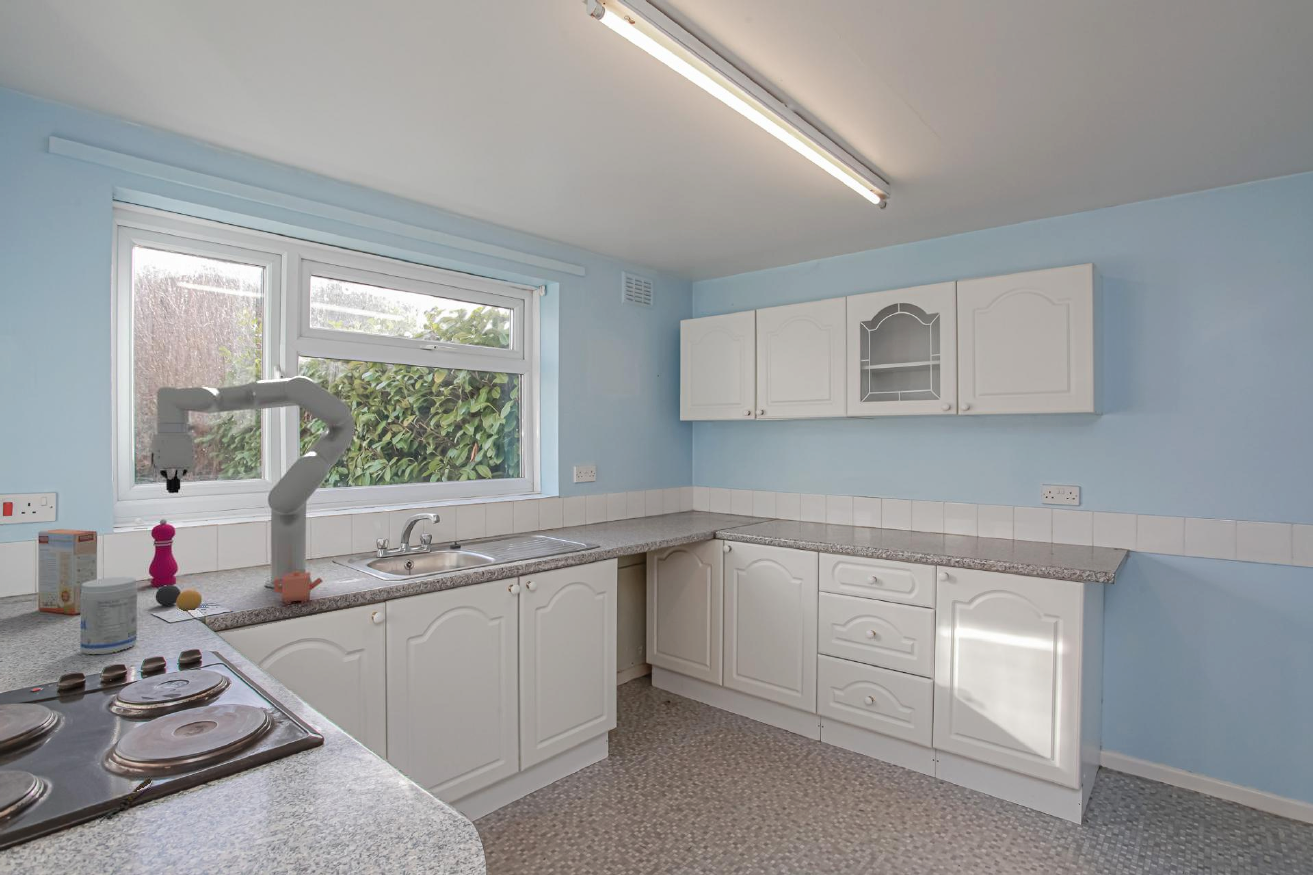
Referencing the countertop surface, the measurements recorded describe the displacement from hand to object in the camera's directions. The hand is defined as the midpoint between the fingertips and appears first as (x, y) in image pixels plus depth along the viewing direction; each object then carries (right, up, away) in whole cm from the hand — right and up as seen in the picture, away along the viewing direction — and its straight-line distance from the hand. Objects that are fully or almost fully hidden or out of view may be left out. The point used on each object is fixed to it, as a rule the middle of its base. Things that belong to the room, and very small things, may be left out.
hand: (173, 492), depth 199 cm
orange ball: (+18, -27, -20) cm, 38 cm away
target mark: (+20, -29, -22) cm, 42 cm away
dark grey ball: (+9, -27, -14) cm, 31 cm away
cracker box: (-14, -30, -20) cm, 38 cm away
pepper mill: (-11, -29, +11) cm, 33 cm away
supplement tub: (+22, -30, -51) cm, 63 cm away
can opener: (+73, -31, -111) cm, 137 cm away
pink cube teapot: (+41, -30, -9) cm, 51 cm away
